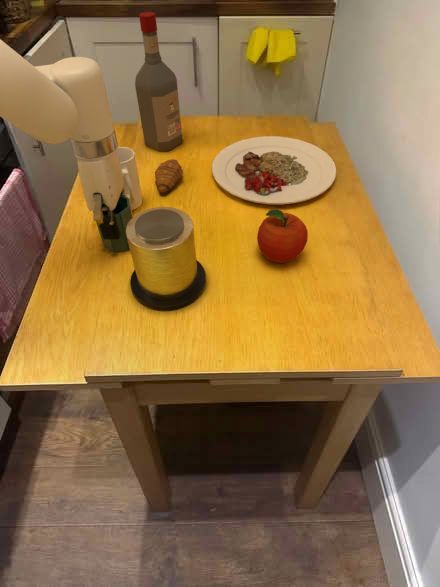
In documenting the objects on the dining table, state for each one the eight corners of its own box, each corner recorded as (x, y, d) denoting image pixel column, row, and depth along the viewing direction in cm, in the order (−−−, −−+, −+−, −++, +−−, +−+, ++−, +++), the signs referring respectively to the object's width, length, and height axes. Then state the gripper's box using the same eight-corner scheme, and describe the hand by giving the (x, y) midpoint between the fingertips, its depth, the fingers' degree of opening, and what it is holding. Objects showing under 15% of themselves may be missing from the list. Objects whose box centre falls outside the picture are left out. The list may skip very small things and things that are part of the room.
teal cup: (96, 244, 84) (85, 208, 77) (119, 226, 88) (110, 190, 81) (122, 256, 81) (112, 220, 75) (144, 236, 85) (137, 201, 79)
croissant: (177, 198, 94) (175, 179, 91) (149, 196, 95) (145, 177, 91) (188, 166, 103) (187, 148, 100) (162, 165, 104) (160, 147, 100)
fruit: (300, 275, 77) (307, 234, 69) (251, 265, 79) (253, 224, 71) (308, 242, 83) (315, 201, 75) (262, 234, 85) (265, 194, 78)
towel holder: (115, 290, 75) (97, 232, 65) (163, 247, 83) (153, 189, 73) (175, 323, 70) (166, 265, 60) (220, 273, 78) (218, 215, 67)
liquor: (187, 140, 112) (176, 12, 90) (164, 154, 108) (147, 22, 85) (163, 131, 116) (147, 6, 94) (140, 144, 111) (117, 15, 89)
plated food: (321, 140, 111) (323, 128, 108) (347, 207, 91) (351, 194, 88) (211, 144, 110) (210, 132, 108) (213, 212, 90) (212, 199, 88)
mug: (111, 198, 95) (98, 151, 86) (139, 191, 96) (129, 144, 87) (122, 223, 88) (109, 174, 80) (151, 215, 90) (142, 166, 81)
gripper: (85, 118, 74) (108, 199, 88) (56, 170, 63) (86, 254, 76) (126, 118, 74) (142, 199, 87) (104, 170, 62) (126, 254, 76)
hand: (116, 224), depth 82 cm, fingers open, 7 cm apart
